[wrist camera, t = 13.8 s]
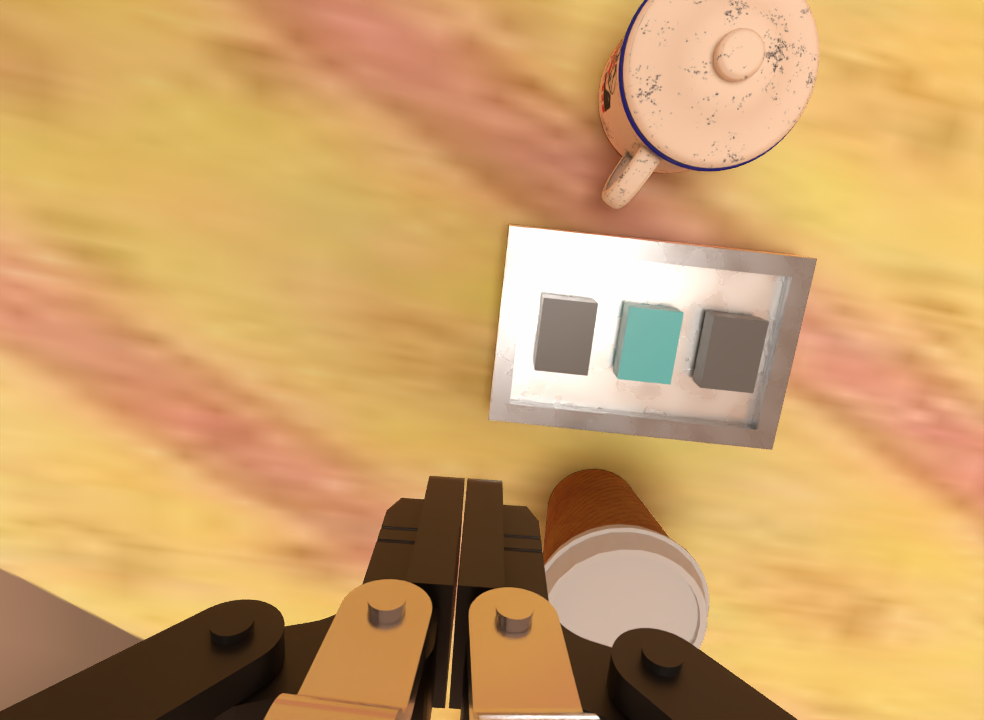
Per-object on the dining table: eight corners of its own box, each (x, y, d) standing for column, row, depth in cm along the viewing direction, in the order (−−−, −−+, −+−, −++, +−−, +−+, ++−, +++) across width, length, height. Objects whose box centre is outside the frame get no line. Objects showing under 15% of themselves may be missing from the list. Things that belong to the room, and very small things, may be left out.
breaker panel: (509, 223, 39) (509, 225, 36) (793, 254, 39) (816, 258, 36) (489, 404, 42) (488, 419, 39) (753, 432, 42) (772, 449, 39)
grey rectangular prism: (542, 293, 37) (543, 297, 36) (594, 299, 37) (598, 303, 36) (533, 363, 38) (534, 370, 37) (584, 368, 38) (587, 375, 37)
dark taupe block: (706, 311, 37) (714, 315, 36) (758, 316, 37) (769, 321, 36) (692, 380, 38) (700, 387, 37) (743, 385, 38) (753, 393, 37)
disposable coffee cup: (537, 437, 42) (550, 527, 31) (673, 458, 42) (738, 556, 31) (514, 558, 45) (517, 685, 33) (643, 578, 45) (692, 711, 33)
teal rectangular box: (624, 302, 37) (629, 306, 36) (676, 307, 37) (683, 312, 36) (612, 371, 38) (617, 379, 37) (663, 377, 38) (670, 384, 37)
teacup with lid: (656, -22, 35) (729, -127, 24) (779, 75, 36) (903, 19, 25) (534, 161, 38) (548, 145, 26) (652, 246, 39) (713, 265, 28)
